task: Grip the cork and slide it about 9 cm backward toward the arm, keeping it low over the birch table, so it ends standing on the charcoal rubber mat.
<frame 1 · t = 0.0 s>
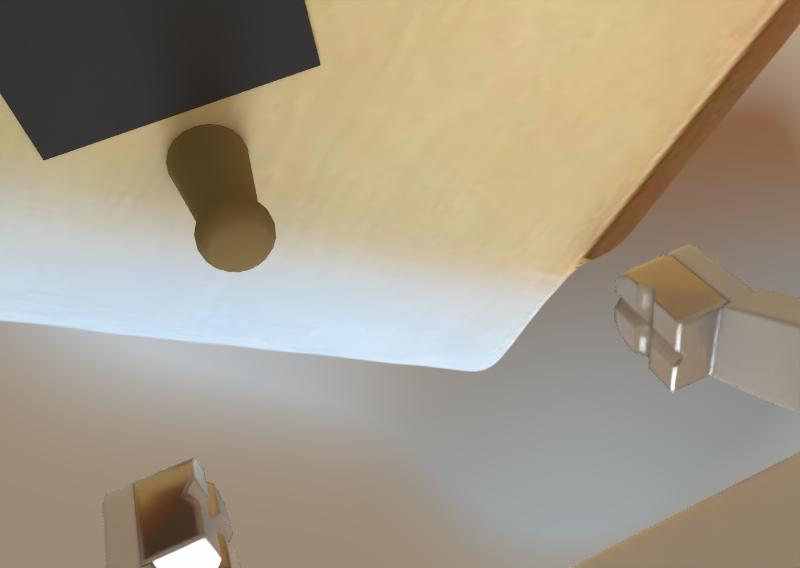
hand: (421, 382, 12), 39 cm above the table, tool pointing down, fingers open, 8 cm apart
mat: (154, 35, 44), on the table
cork: (207, 159, 52), on the table
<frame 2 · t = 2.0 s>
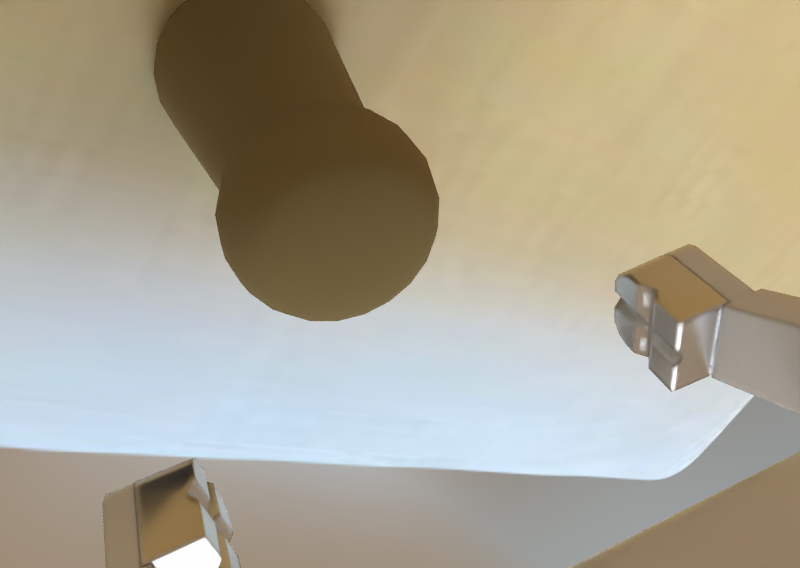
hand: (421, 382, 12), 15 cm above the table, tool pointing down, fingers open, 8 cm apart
cork: (248, 72, 23), on the table
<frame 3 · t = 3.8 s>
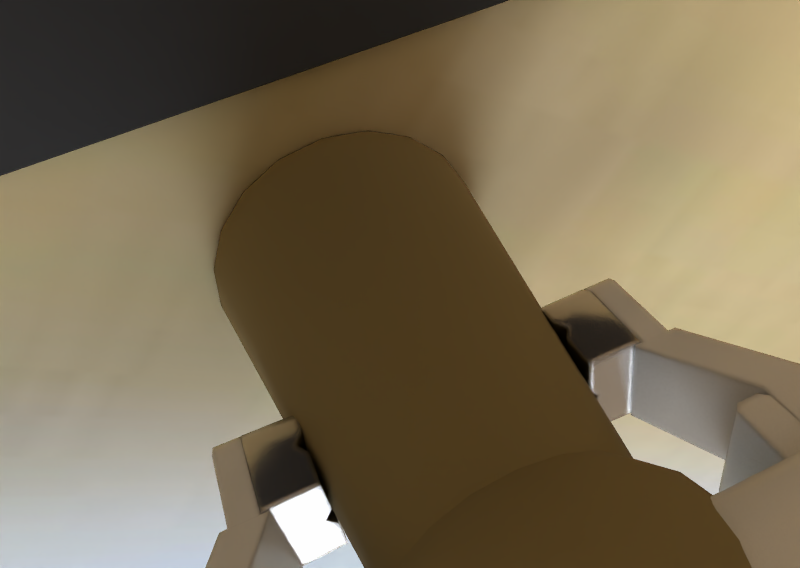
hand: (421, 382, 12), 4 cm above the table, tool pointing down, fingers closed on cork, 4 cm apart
cork: (349, 253, 16), on the table, touching gripper
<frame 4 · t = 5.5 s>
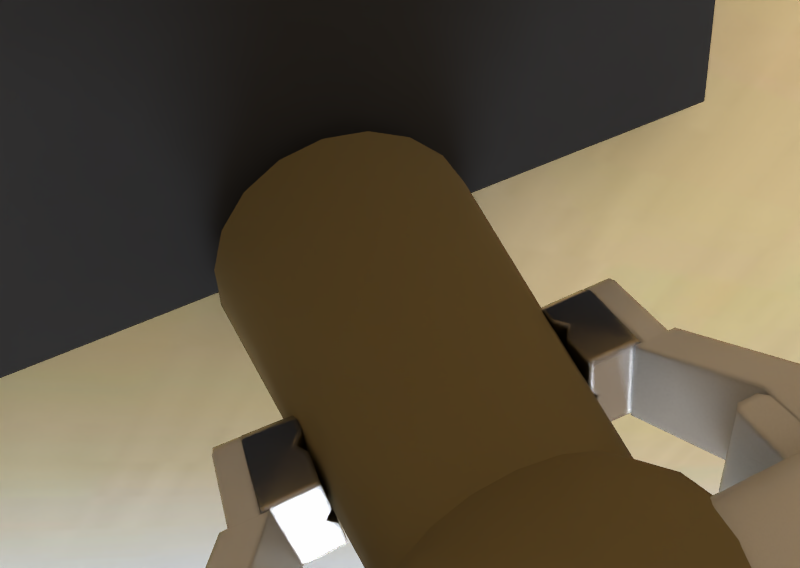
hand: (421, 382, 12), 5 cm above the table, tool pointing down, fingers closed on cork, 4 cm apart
mat: (263, 3, 13), on the table
cork: (349, 253, 16), point 1 cm above the table, touching gripper
when the fingers open (4 cm above the table, at t = 7.4 s): cork stays where it is, resting on mat.
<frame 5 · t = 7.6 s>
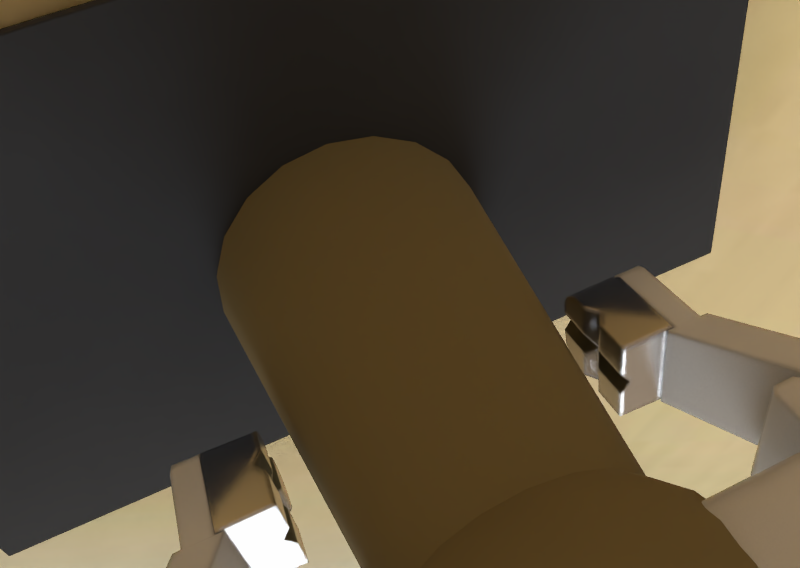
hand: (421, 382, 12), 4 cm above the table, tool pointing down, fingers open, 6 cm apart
mat: (337, 219, 15), on the table
cork: (353, 259, 15), resting on mat
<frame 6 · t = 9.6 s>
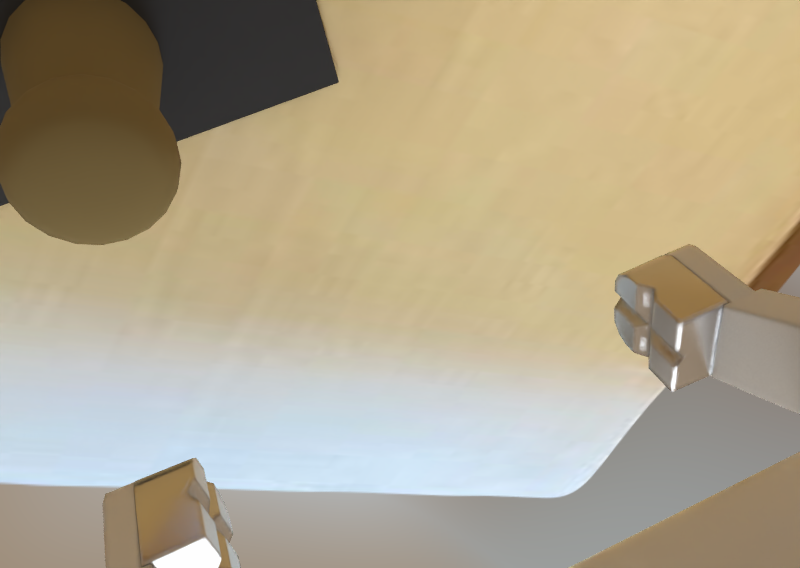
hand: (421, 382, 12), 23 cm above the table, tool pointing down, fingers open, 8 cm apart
mat: (70, 37, 28), on the table
cork: (85, 62, 28), resting on mat
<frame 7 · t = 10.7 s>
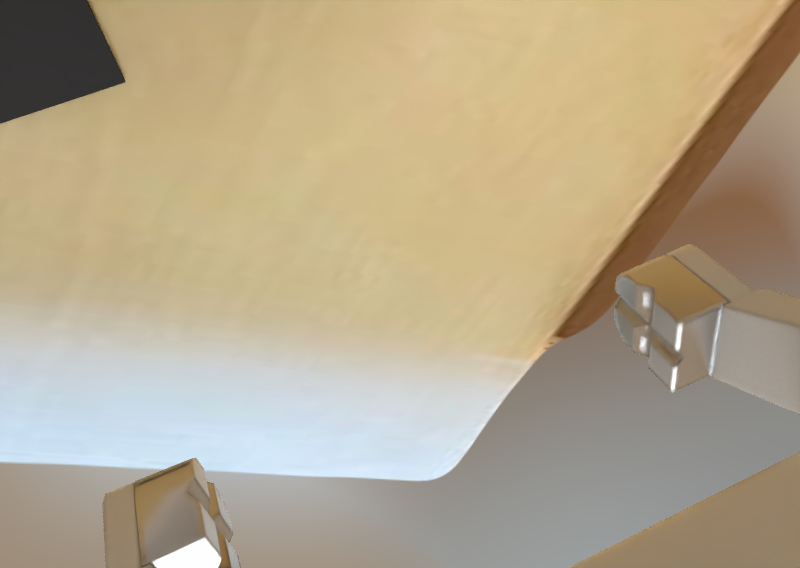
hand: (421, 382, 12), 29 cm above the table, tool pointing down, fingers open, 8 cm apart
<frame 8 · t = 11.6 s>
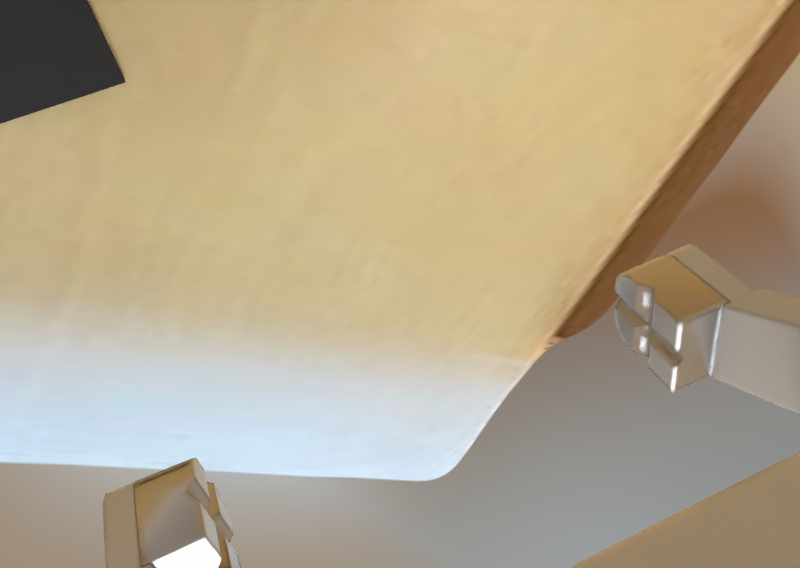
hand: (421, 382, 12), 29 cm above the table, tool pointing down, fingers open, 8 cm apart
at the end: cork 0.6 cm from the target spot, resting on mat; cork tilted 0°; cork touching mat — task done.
